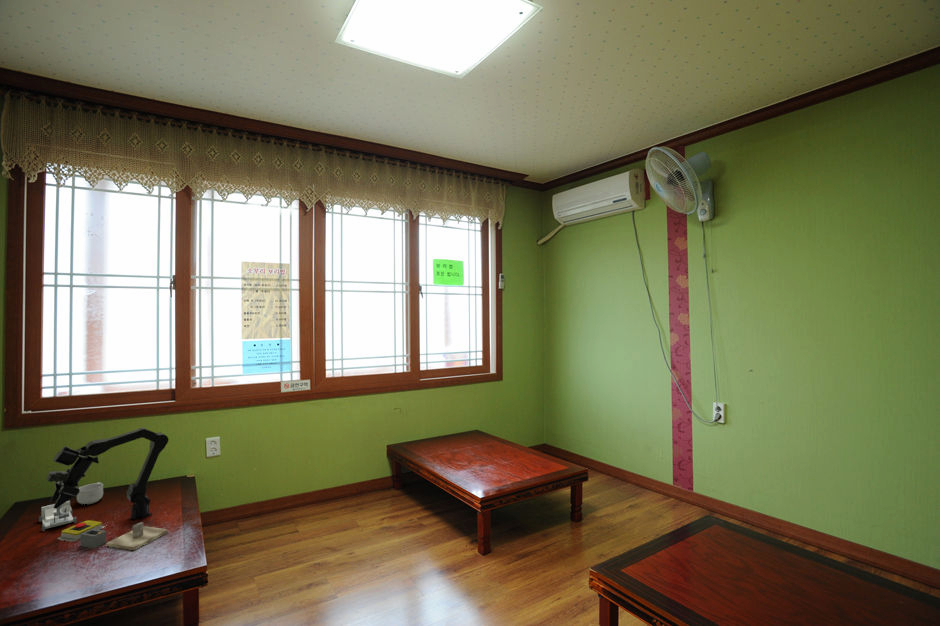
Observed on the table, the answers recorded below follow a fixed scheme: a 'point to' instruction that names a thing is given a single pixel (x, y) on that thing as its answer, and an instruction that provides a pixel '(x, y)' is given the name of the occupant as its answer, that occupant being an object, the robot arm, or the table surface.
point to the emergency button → (79, 530)
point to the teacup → (90, 493)
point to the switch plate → (137, 537)
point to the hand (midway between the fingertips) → (53, 505)
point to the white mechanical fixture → (56, 515)
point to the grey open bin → (93, 538)
